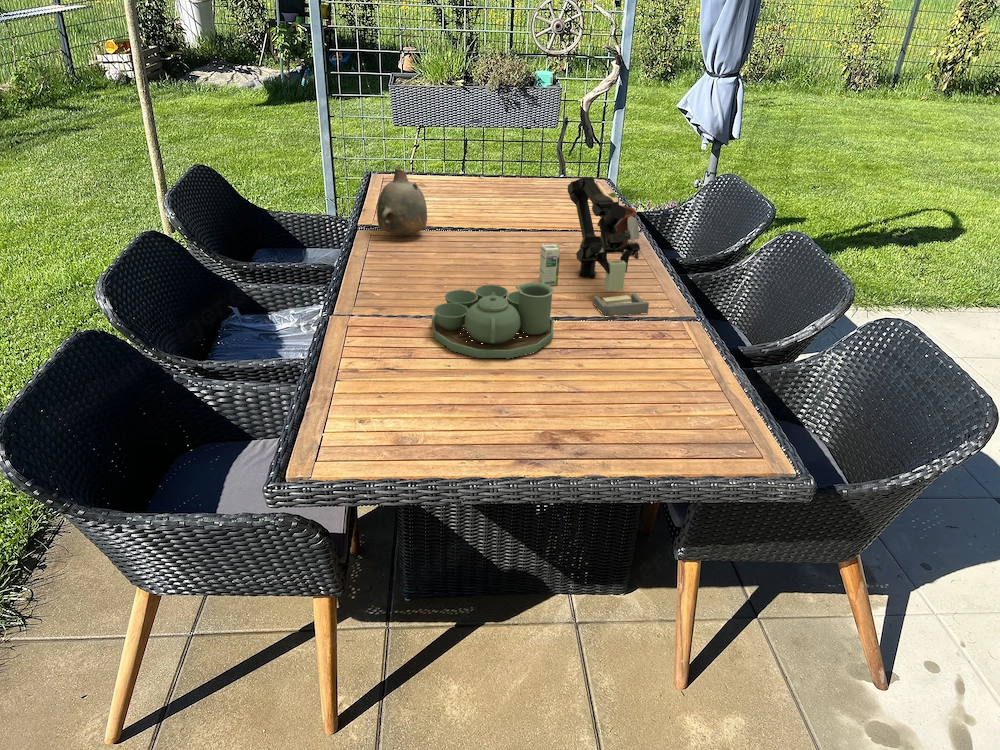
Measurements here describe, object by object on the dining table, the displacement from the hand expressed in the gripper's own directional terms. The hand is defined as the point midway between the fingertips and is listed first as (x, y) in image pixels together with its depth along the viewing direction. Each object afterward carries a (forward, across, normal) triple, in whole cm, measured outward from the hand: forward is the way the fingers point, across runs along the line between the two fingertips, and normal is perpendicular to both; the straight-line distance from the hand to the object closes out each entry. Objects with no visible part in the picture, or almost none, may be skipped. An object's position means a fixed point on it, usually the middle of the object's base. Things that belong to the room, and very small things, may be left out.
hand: (617, 272), depth 245 cm
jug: (-50, -64, +67) cm, 105 cm away
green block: (+4, 0, +6) cm, 7 cm away
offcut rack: (+12, 0, +4) cm, 13 cm away
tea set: (+18, -49, -2) cm, 52 cm away
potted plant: (-28, +23, +46) cm, 58 cm away
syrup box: (-7, -18, +23) cm, 30 cm away
